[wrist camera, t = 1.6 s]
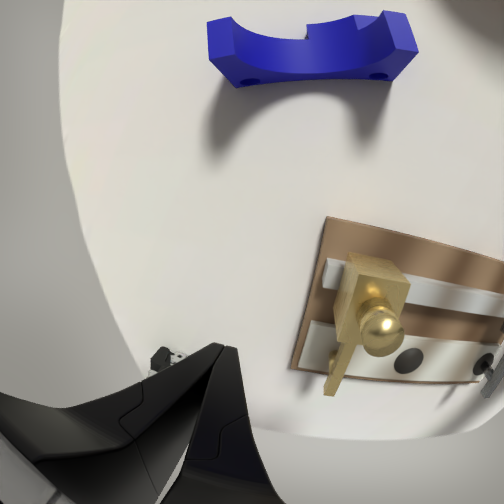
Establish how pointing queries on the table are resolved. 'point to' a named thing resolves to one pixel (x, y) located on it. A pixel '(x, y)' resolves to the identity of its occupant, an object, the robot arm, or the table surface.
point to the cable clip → (314, 51)
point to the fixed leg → (492, 374)
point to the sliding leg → (366, 312)
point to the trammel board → (410, 308)
